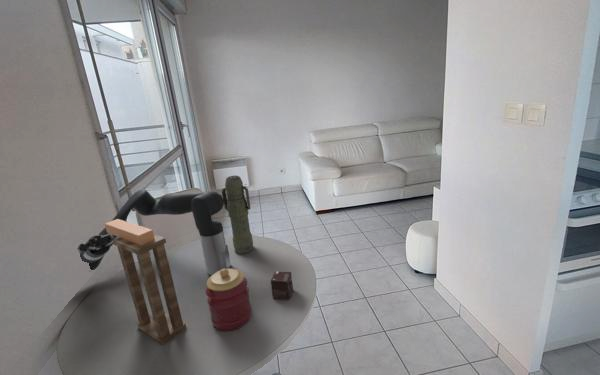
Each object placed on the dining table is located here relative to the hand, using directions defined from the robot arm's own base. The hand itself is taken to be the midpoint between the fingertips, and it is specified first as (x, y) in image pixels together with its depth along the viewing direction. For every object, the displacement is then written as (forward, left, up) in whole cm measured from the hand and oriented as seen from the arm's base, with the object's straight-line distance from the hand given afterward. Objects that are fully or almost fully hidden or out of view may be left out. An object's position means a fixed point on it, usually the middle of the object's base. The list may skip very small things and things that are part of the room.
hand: (107, 235), depth 104 cm
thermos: (-37, -34, -27) cm, 57 cm away
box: (-57, +2, -27) cm, 63 cm away
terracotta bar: (-15, +11, +4) cm, 19 cm away
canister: (-41, +12, -27) cm, 50 cm away
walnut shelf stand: (-19, +14, -27) cm, 36 cm away
